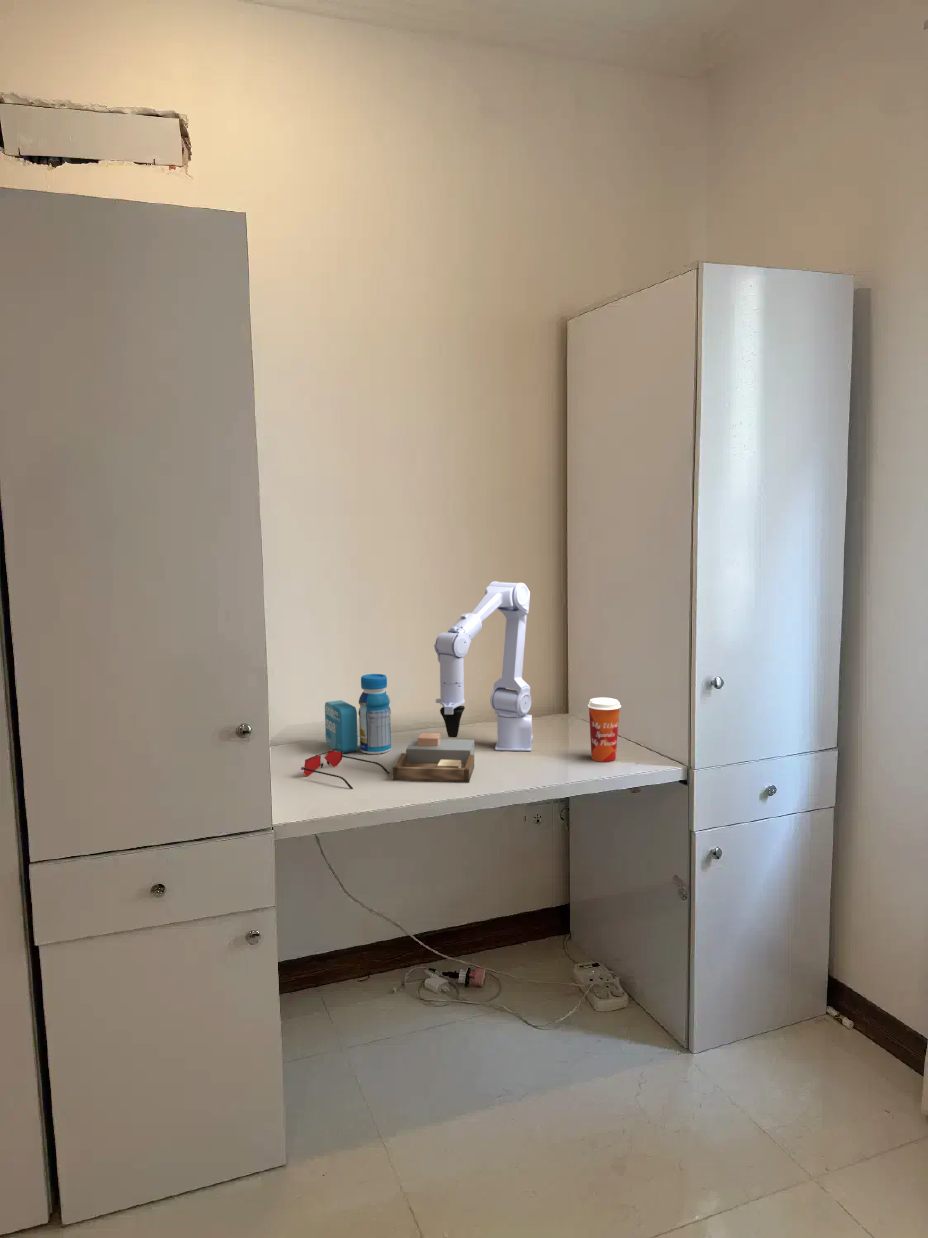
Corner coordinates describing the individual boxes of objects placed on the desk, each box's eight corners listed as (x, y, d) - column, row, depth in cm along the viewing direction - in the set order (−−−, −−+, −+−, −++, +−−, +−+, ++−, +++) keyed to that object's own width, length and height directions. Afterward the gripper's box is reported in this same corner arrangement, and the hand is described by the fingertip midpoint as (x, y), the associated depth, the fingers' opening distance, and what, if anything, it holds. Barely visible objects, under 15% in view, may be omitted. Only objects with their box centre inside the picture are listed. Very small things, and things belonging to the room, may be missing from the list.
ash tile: (458, 766, 208) (458, 774, 208) (461, 760, 213) (461, 768, 213) (437, 765, 208) (437, 773, 209) (440, 759, 213) (440, 767, 214)
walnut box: (474, 766, 216) (474, 754, 216) (469, 782, 204) (469, 769, 203) (402, 765, 218) (402, 753, 218) (392, 780, 206) (392, 768, 205)
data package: (325, 744, 238) (324, 701, 237) (341, 741, 240) (340, 699, 239) (342, 754, 228) (340, 709, 226) (358, 752, 230) (357, 707, 228)
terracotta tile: (440, 741, 225) (440, 733, 224) (437, 746, 220) (437, 738, 220) (421, 740, 225) (421, 733, 225) (418, 746, 220) (417, 738, 220)
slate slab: (474, 754, 226) (474, 739, 226) (470, 766, 216) (470, 750, 216) (413, 753, 228) (412, 738, 228) (406, 764, 218) (406, 749, 218)
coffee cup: (589, 763, 218) (589, 704, 216) (585, 754, 226) (585, 697, 224) (623, 763, 217) (623, 704, 216) (618, 754, 226) (618, 697, 224)
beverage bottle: (380, 756, 226) (379, 680, 223) (353, 752, 229) (351, 677, 227) (397, 748, 233) (396, 674, 231) (370, 744, 237) (368, 671, 234)
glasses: (340, 764, 220) (339, 745, 220) (391, 775, 211) (390, 755, 211) (300, 779, 209) (299, 758, 208) (352, 791, 200) (351, 769, 199)
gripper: (439, 675, 219) (440, 728, 221) (431, 687, 205) (432, 744, 207) (467, 676, 218) (468, 729, 220) (461, 688, 204) (461, 745, 206)
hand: (452, 736), depth 213 cm, fingers closed
